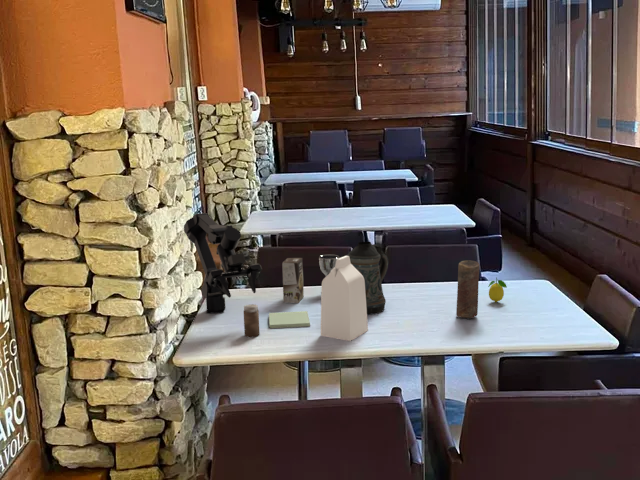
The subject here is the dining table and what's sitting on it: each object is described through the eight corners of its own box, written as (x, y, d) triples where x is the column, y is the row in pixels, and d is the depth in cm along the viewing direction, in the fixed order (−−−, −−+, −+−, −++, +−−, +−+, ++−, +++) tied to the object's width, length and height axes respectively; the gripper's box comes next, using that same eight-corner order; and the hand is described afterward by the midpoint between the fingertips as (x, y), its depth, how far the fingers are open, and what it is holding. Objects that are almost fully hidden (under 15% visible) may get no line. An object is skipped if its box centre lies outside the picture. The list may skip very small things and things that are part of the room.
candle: (480, 315, 255) (481, 261, 251) (475, 321, 248) (476, 265, 244) (459, 313, 258) (459, 259, 254) (453, 319, 252) (454, 264, 248)
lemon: (506, 305, 267) (507, 279, 265) (490, 305, 267) (491, 279, 265) (502, 300, 273) (503, 274, 271) (486, 300, 274) (487, 275, 272)
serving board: (269, 328, 247) (269, 324, 247) (269, 316, 261) (268, 313, 260) (310, 326, 248) (309, 322, 248) (307, 314, 262) (307, 311, 261)
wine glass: (319, 290, 293) (318, 254, 290) (338, 289, 294) (337, 254, 291) (320, 295, 286) (319, 259, 283) (340, 294, 286) (339, 258, 283)
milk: (350, 341, 232) (349, 263, 227) (320, 335, 238) (318, 259, 233) (368, 330, 242) (367, 255, 237) (338, 325, 248) (337, 252, 243)
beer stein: (335, 313, 263) (333, 246, 258) (352, 298, 280) (351, 236, 275) (378, 317, 256) (377, 249, 251) (393, 302, 274) (393, 238, 269)
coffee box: (299, 303, 276) (297, 262, 273) (283, 302, 277) (281, 262, 274) (304, 296, 285) (303, 257, 281) (288, 296, 286) (287, 257, 283)
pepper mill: (244, 337, 238) (243, 308, 236) (244, 332, 243) (243, 304, 241) (259, 336, 238) (258, 308, 236) (259, 332, 243) (258, 303, 241)
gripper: (208, 247, 240) (222, 286, 233) (258, 240, 249) (273, 277, 242) (201, 266, 249) (214, 303, 241) (250, 258, 258) (264, 295, 250)
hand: (242, 294), depth 244 cm, fingers open, 9 cm apart
